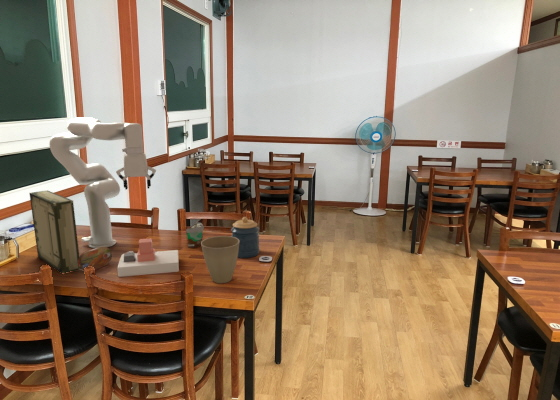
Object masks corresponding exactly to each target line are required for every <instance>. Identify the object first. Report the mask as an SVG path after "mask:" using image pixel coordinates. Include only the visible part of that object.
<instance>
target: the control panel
mask: <svg viewBox="0 0 560 400" xmlns="http://www.w3.org/2000/svg"><path fill="white" fill-rule="evenodd" d="M29 199H30V208H31V215H32V221H33V228H34V229H33V230H34V236H35V238H34V239H35V246H36V249H37V250H36V251H37V258H39V259H40V260H42V261H43V262H44V263H45V264H47V265H48V264H49V266H50V267H51V268H53V269H54V268H55V269H56V270H55V269H54V270H55V271H57V270H58V271H59V272H61V273H66V272H70V271H74V272H77V271H76V270H78V271H82V269H80V268H79V266H78V258H79V256H80V252H79V251H80V250H79V241H78V234H77V224H76V214H75V205H74V200H73V199H70V198H68V197H65V196H63V195H60V194H57V193H55V192H53V191H51V190H40V191H35V192H29ZM58 271H57V272H58ZM59 272H58V273H59ZM61 273H60V274H61ZM70 273H71V272H70ZM66 274H67V273H66Z"/></svg>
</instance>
